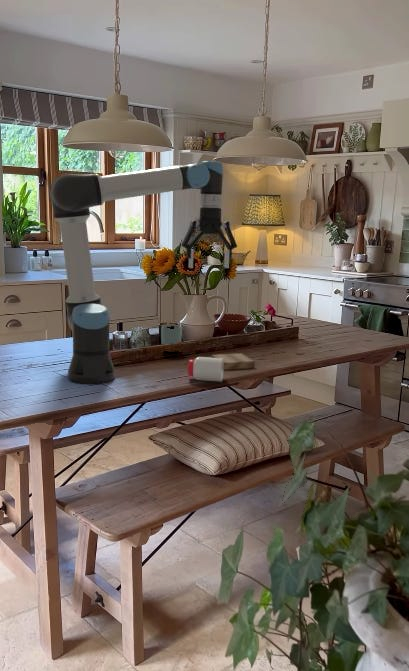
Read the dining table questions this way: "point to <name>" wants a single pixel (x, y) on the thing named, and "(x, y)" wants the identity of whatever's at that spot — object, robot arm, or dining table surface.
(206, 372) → the pill bottle
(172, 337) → the pale green box
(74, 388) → the dining table surface
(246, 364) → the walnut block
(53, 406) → the dining table surface
